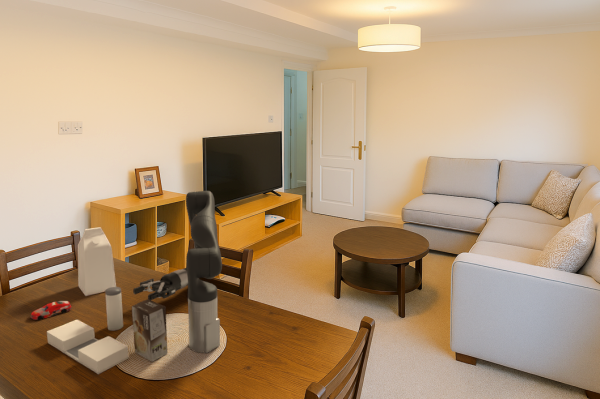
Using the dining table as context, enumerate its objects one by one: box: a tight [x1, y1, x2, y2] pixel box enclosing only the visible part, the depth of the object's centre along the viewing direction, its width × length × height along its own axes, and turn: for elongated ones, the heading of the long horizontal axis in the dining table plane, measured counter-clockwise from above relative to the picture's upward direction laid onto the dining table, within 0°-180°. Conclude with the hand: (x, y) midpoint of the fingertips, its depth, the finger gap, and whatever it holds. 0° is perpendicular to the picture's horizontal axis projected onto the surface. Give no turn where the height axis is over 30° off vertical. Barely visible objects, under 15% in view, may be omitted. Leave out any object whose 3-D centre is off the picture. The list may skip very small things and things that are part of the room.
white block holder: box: [46, 319, 129, 375], centre depth 135 cm, size 28×10×4 cm, turn 57°
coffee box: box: [131, 298, 168, 362], centre depth 134 cm, size 9×6×16 cm
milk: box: [77, 226, 117, 297], centre depth 178 cm, size 12×12×26 cm
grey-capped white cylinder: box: [104, 286, 124, 331], centre depth 149 cm, size 5×5×14 cm
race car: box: [30, 300, 72, 321], centre depth 157 cm, size 13×5×4 cm, turn 134°
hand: (141, 294), depth 158 cm, fingers open, 8 cm apart
